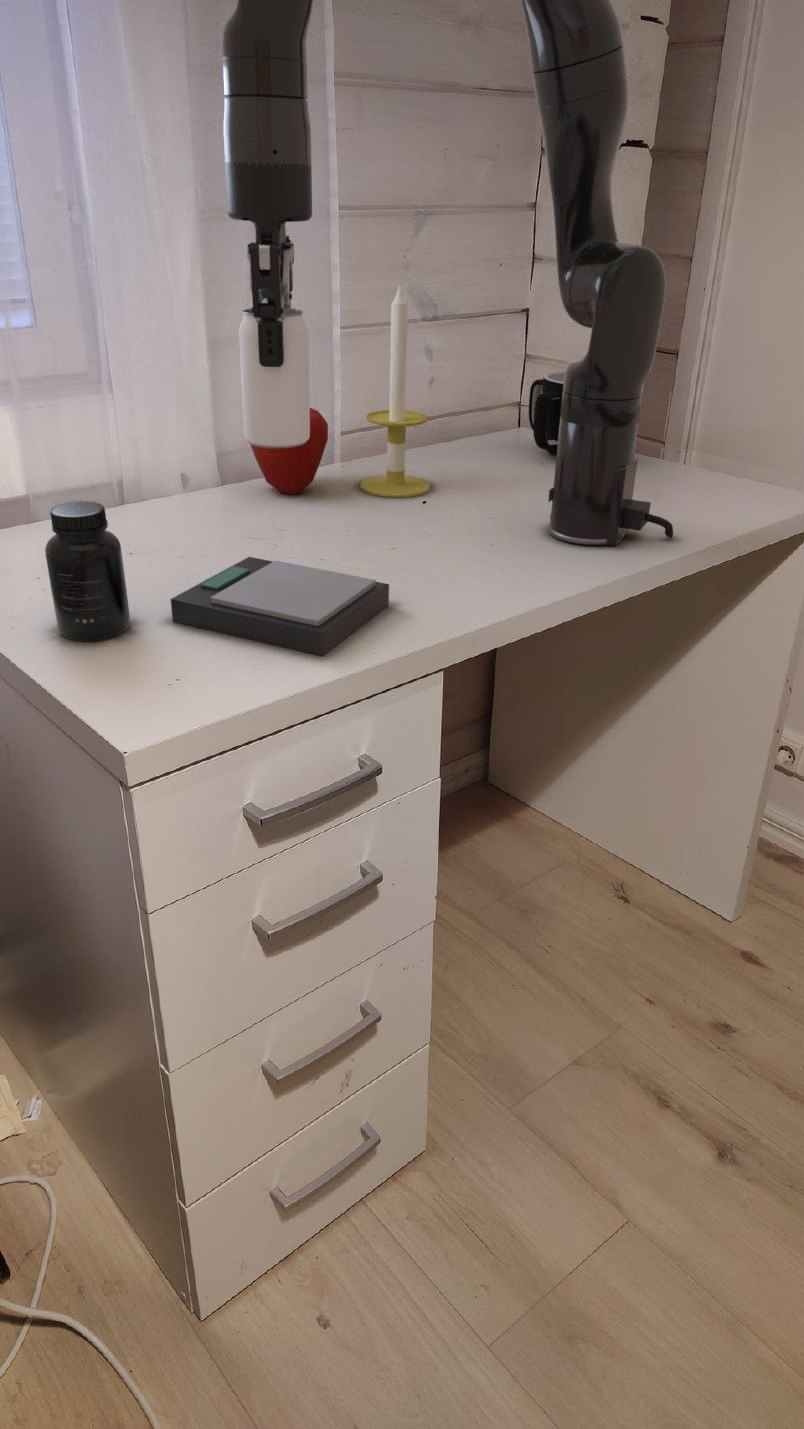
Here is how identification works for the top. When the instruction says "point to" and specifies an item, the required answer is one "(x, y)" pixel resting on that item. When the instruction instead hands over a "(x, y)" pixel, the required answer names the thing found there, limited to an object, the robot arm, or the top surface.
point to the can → (275, 385)
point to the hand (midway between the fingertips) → (274, 359)
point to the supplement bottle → (86, 573)
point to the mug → (546, 410)
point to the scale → (282, 604)
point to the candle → (396, 416)
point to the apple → (294, 459)
